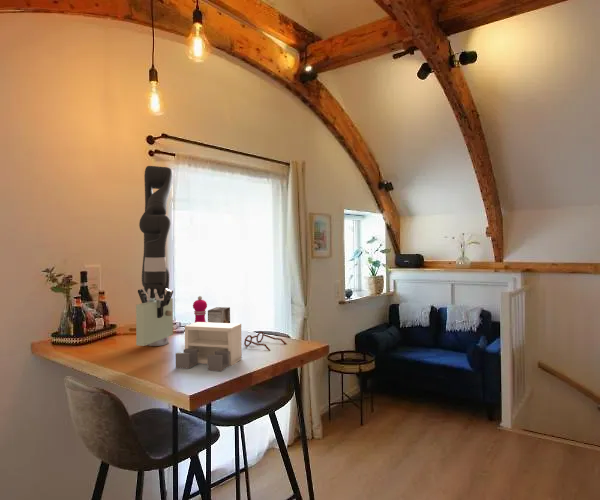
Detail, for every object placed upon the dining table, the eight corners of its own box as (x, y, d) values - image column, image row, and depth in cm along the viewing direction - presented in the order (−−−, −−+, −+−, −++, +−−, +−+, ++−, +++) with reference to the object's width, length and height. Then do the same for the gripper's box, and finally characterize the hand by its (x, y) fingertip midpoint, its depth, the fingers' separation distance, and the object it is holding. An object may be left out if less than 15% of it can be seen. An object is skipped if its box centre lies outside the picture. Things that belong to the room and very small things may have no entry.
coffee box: (216, 344, 181) (216, 306, 181) (230, 345, 180) (230, 307, 180) (207, 349, 172) (207, 310, 172) (222, 350, 171) (222, 310, 171)
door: (147, 346, 146) (147, 305, 146) (136, 345, 147) (136, 304, 147) (176, 335, 164) (176, 298, 163) (165, 334, 165) (165, 298, 164)
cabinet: (174, 367, 147) (174, 329, 147) (197, 356, 162) (197, 321, 162) (222, 371, 142) (222, 332, 142) (241, 359, 158) (241, 323, 158)
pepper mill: (188, 342, 185) (187, 296, 185) (198, 339, 192) (197, 294, 192) (202, 344, 183) (202, 297, 183) (212, 340, 189) (211, 295, 189)
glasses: (262, 341, 188) (261, 330, 188) (287, 345, 182) (287, 333, 182) (243, 348, 177) (243, 336, 177) (269, 351, 170) (269, 339, 170)
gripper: (131, 270, 153) (132, 318, 154) (166, 271, 150) (166, 320, 150) (144, 268, 161) (145, 314, 161) (178, 269, 157) (178, 316, 157)
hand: (155, 317), depth 156 cm, fingers closed on door, 3 cm apart
